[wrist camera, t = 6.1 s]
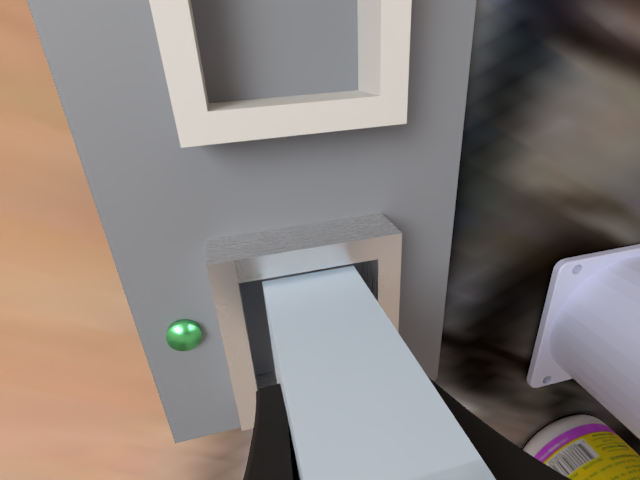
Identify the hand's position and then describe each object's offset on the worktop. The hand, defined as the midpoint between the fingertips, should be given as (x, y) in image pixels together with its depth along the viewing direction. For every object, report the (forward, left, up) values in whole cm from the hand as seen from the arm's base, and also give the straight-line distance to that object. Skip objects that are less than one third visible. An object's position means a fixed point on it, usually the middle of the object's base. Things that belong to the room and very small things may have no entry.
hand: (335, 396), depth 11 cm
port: (+1, 0, -4) cm, 4 cm away
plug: (0, 0, -3) cm, 3 cm away
